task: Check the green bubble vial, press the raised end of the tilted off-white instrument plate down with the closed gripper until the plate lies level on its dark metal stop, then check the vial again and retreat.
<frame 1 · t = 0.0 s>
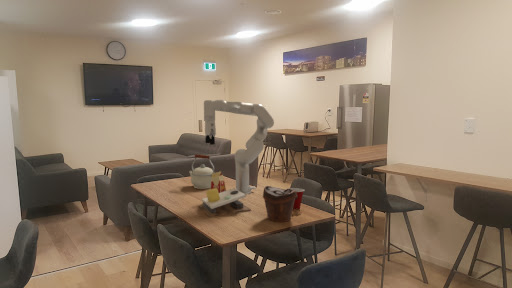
hand: (210, 143, 245), 37 cm above the table, tool pointing down, fingers open, 9 cm apart
instrument plate: (222, 193, 218), point 10 cm above the table, hinge at 12.0°
leveling stand: (224, 209, 220), on the table
plastic cup: (295, 208, 222), on the table
brown flower pot: (279, 218, 202), on the table
kettle: (201, 186, 278), on the table
milk carton: (217, 200, 239), on the table
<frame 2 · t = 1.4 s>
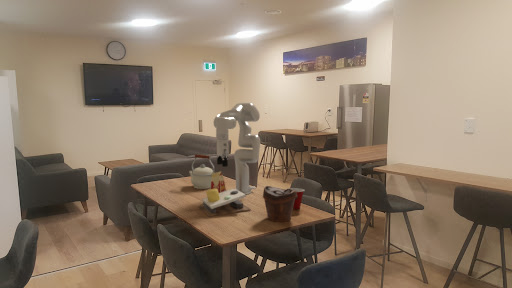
hand: (222, 165, 221), 26 cm above the table, tool pointing down, fingers open, 9 cm apart
nothing on the table moved.
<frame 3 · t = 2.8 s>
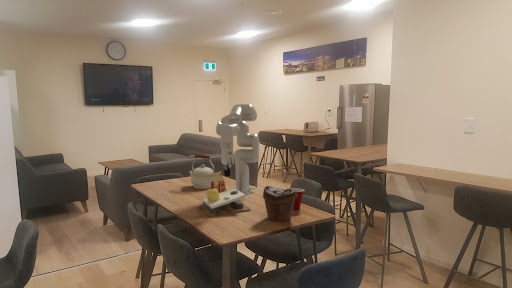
hand: (227, 175, 215), 21 cm above the table, tool pointing down, fingers closed
nothing on the table moved.
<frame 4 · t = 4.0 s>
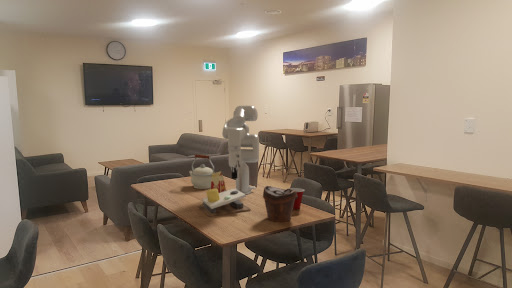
hand: (234, 178, 220), 19 cm above the table, tool pointing down, fingers closed
nothing on the table moved.
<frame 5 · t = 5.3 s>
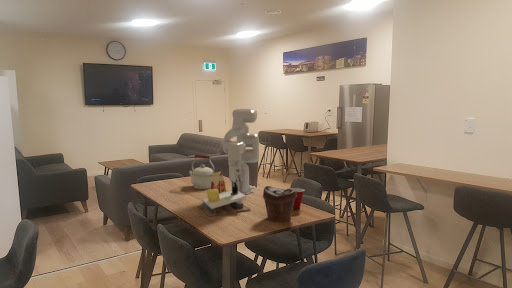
hand: (234, 192, 221), 10 cm above the table, tool pointing down, fingers closed
instrument plate: (222, 193, 218), point 10 cm above the table, hinge at 10.3°, touching gripper
everything else where it was.
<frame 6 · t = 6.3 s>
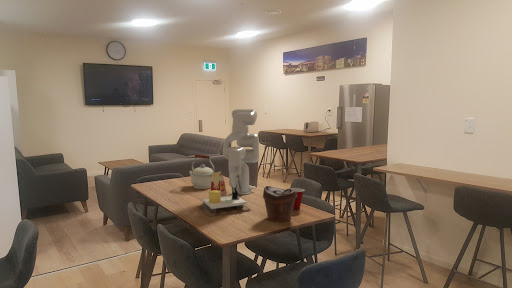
hand: (234, 198, 221), 6 cm above the table, tool pointing down, fingers closed
instrument plate: (224, 196, 219), point 8 cm above the table, hinge at 0.1°, touching gripper
everything else where it was.
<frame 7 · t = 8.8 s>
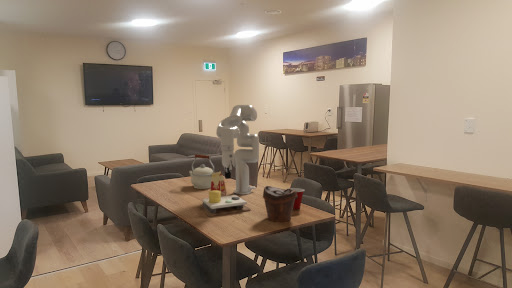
hand: (227, 178, 216), 19 cm above the table, tool pointing down, fingers closed
instrument plate: (224, 196, 219), point 8 cm above the table, hinge at 0.1°
everything else where it was.
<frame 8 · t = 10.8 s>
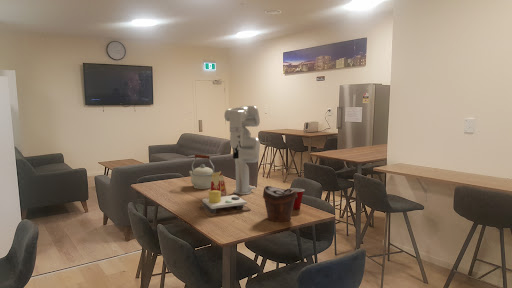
hand: (235, 158, 230), 29 cm above the table, tool pointing down, fingers closed
nothing on the table moved.
at the end: instrument plate at +0° (first picture: +12°); milk carton moved 0.2 cm from its start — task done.
